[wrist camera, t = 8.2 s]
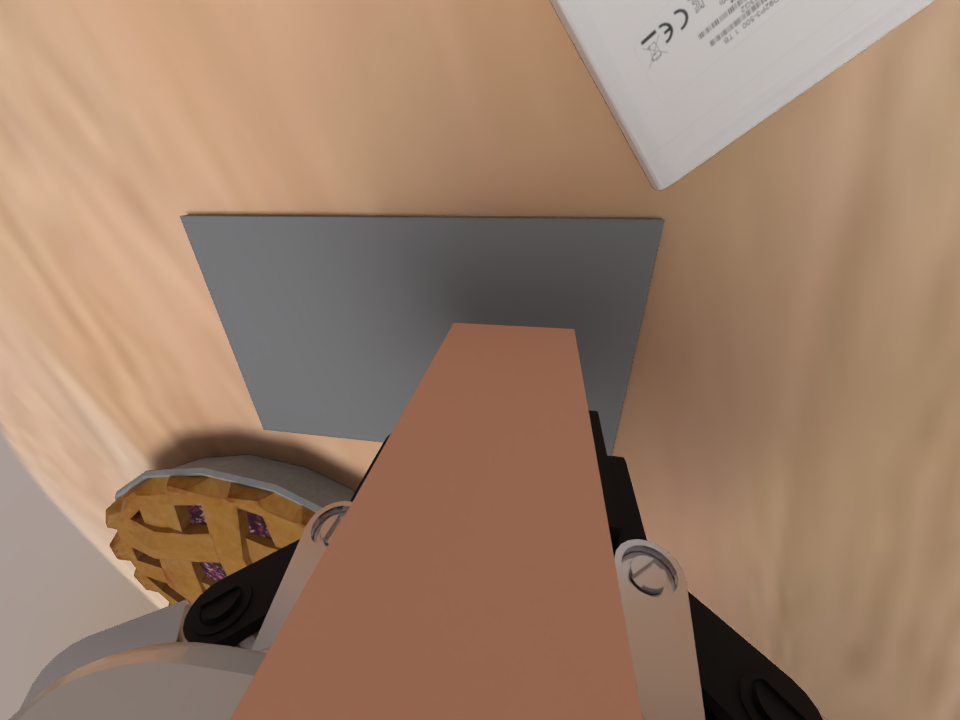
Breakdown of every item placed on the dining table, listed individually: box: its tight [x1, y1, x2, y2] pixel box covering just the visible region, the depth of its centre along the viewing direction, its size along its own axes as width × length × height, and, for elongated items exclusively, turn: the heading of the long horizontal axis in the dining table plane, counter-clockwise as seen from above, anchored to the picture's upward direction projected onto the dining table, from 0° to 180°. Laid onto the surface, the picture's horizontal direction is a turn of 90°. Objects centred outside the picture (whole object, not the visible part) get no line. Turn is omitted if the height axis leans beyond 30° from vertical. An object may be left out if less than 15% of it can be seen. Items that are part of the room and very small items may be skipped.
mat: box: [180, 215, 664, 456], centre depth 17 cm, size 20×12×1 cm, turn 91°
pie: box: [106, 455, 355, 606], centre depth 26 cm, size 22×22×5 cm
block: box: [230, 323, 642, 720], centre depth 9 cm, size 4×6×10 cm, turn 1°
